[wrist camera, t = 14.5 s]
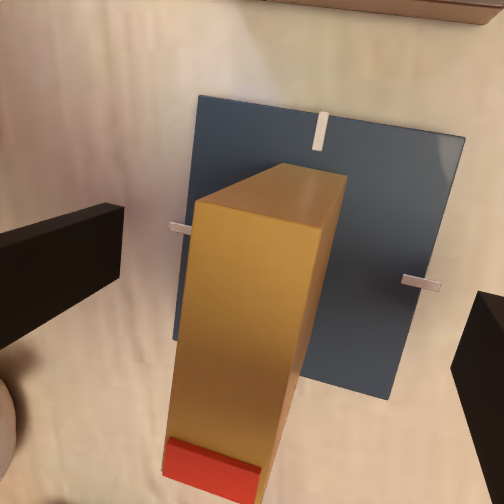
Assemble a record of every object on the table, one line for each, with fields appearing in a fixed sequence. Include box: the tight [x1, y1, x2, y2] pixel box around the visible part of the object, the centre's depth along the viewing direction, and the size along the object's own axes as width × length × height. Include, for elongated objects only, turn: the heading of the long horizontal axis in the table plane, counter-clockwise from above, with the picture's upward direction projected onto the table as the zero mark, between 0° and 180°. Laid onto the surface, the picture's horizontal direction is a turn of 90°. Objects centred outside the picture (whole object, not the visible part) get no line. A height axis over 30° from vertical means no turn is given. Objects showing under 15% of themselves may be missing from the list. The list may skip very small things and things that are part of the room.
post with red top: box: [161, 163, 348, 504], centre depth 14 cm, size 7×3×9 cm, turn 170°
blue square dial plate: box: [169, 95, 466, 400], centre depth 19 cm, size 11×11×3 cm
